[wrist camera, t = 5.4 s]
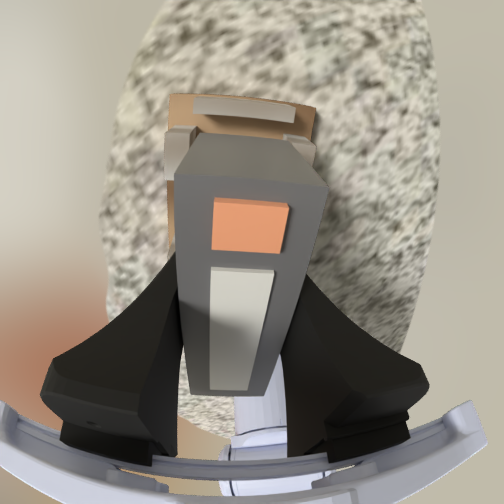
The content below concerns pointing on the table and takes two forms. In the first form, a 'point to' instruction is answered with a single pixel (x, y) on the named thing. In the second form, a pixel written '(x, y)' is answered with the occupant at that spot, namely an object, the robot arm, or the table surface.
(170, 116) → the mounting board
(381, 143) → the table surface
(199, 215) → the grey rectangular block
